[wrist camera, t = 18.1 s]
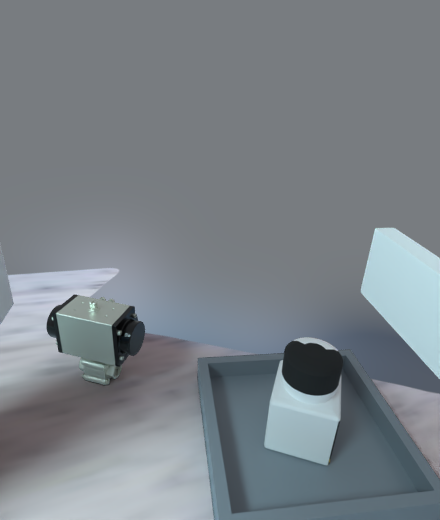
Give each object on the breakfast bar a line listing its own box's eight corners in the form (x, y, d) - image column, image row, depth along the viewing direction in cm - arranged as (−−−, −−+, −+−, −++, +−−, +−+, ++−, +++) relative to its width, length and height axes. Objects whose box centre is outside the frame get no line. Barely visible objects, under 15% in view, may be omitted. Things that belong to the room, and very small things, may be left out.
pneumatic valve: (132, 397, 50) (126, 321, 44) (54, 377, 52) (40, 302, 47) (150, 369, 55) (147, 297, 49) (78, 352, 57) (68, 282, 52)
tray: (218, 553, 34) (220, 529, 32) (197, 377, 53) (197, 357, 52) (443, 524, 37) (454, 501, 36) (345, 368, 57) (350, 349, 55)
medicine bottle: (328, 468, 41) (350, 382, 36) (263, 448, 43) (274, 364, 37) (331, 417, 47) (350, 337, 42) (274, 402, 49) (285, 324, 44)
